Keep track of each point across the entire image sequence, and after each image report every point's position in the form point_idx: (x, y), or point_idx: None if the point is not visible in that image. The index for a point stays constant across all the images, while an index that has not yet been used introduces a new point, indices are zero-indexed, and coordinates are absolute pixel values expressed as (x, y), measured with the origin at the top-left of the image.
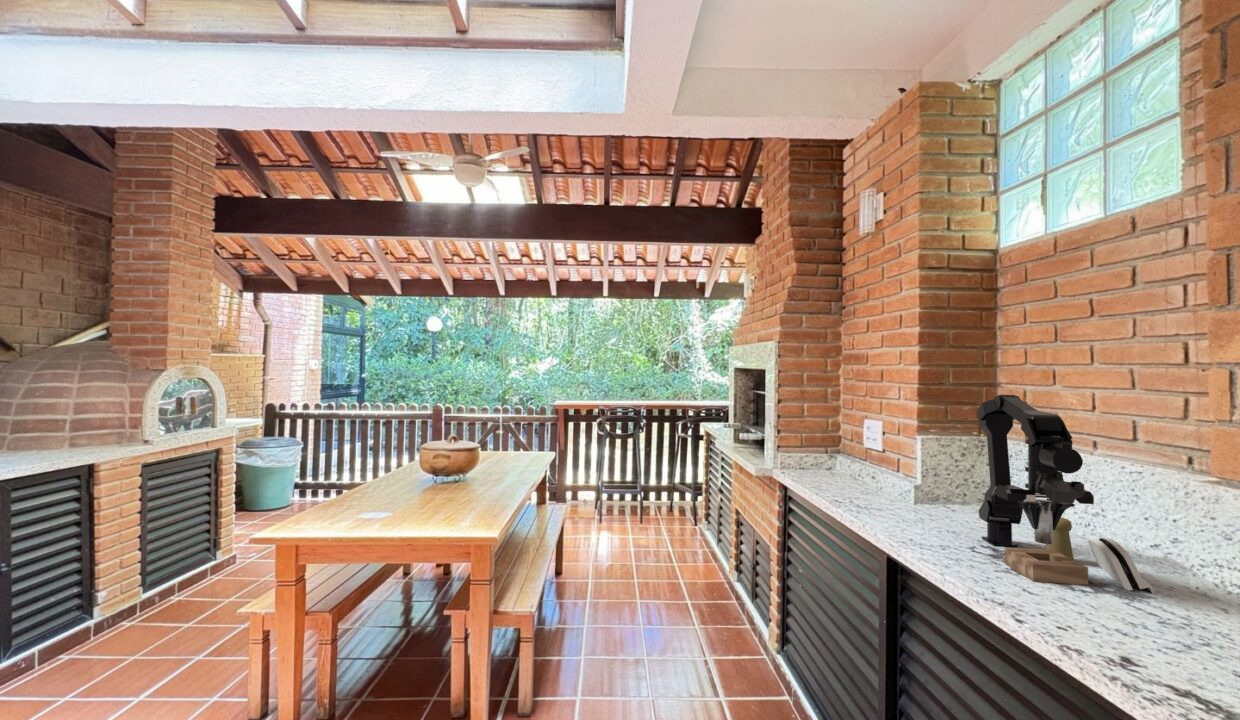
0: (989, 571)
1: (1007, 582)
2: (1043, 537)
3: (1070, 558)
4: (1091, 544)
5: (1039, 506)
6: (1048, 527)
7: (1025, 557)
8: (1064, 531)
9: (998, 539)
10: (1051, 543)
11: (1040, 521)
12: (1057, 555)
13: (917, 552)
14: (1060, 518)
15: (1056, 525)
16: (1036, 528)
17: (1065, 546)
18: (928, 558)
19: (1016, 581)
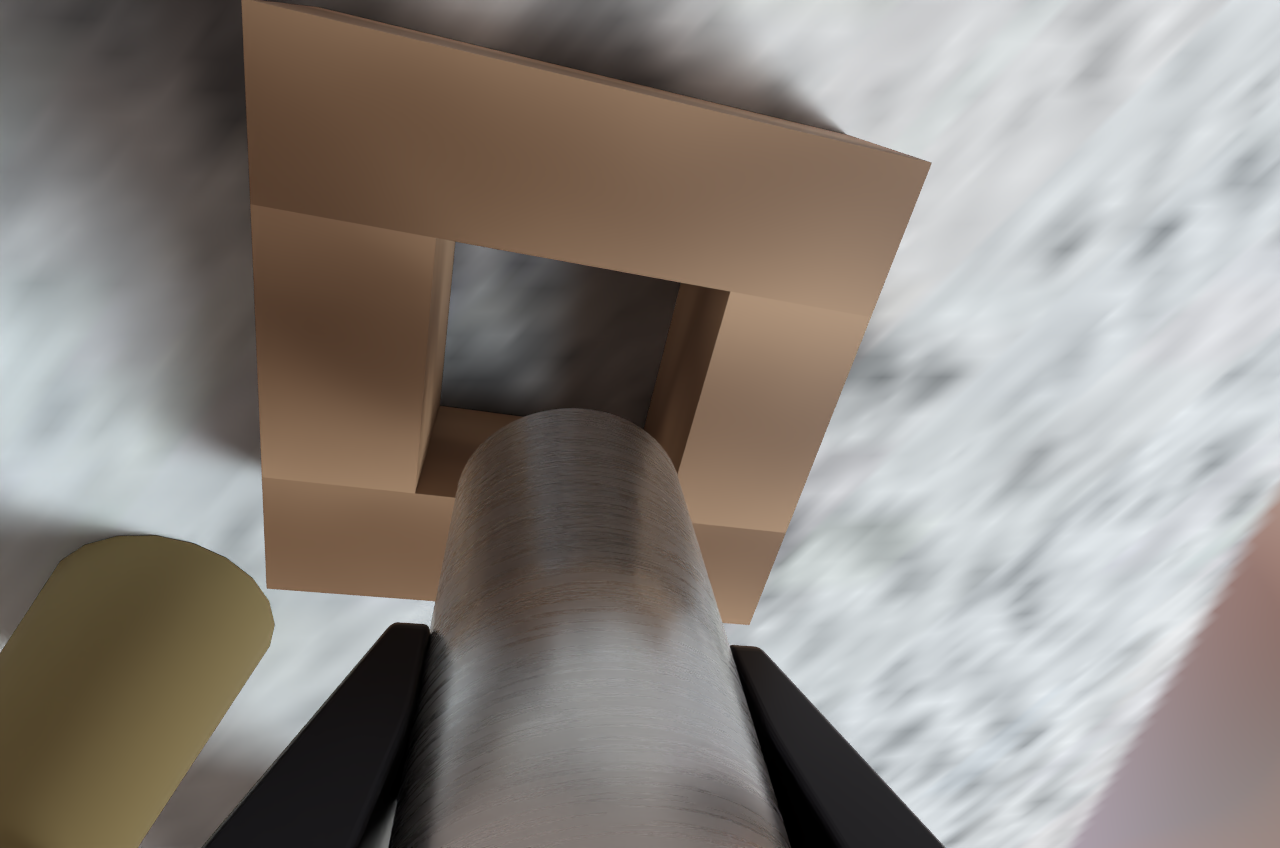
0: (1001, 370)
1: (1107, 121)
2: (665, 487)
3: (84, 576)
4: None
5: None
6: (610, 609)
7: (799, 380)
8: None
9: None
10: (535, 419)
11: (764, 769)
12: (354, 444)
13: (1133, 671)
14: None
15: (341, 694)
16: (751, 651)
17: (62, 673)
18: (1175, 587)
19: (1001, 142)
